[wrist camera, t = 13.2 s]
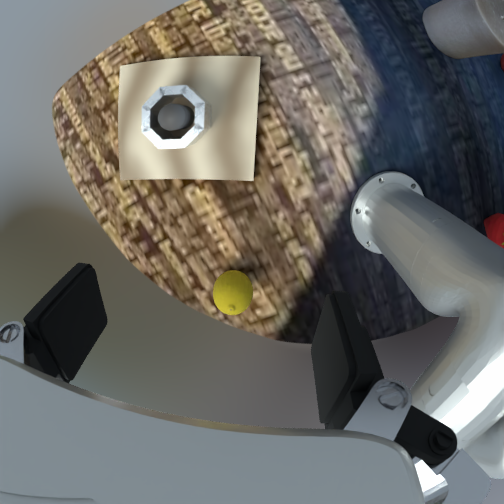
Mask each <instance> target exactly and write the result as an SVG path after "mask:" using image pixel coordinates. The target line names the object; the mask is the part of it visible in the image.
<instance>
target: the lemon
mask: <svg viewBox="0 0 504 504" xmlns="http://www.w3.org/2000/svg"><path fill="white" fill-rule="evenodd" d="M252 297H253V287H252V284H251V281H250V279H249V278H248V277H247V276H246V275H245V274H244V273H242V272H240V271H237V270H230V271H226V272H224V273H223V274H221V275H220V276H219V277H218V279H217V280H216V282H215V285H214V288H213V298H214V302H215V304H216V306H217V307H218V309H219V310H220V311H222V312H223V313H226V314H229V315H237V314H240V313H242V312H244V311H245V310H246V309H247V308H248V306H249V305H250V303H251V300H252Z"/></svg>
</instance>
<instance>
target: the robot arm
mask: <svg viewBox="0 0 504 504" xmlns="http://www.w3.org/2000/svg"><path fill="white" fill-rule="evenodd" d="M379 178H380V180H379ZM356 209H357V211H355V210H356ZM350 221H351V227H352V230H353V233H354V235H355V236H356V238H357V240H358V241H359V242H360V243H361V245H363V246H364V247H365V248H366V249H368V250H370V251H372V252H375V253H378V254H383V255H384V256H385V257H386V258H387V260H388V261H389V262H390V263H391V265H392V266H393V267H394V268H395V270H396V271H397V272H398V274H399V275H400V276H401V277H402V279H403V280H404V281H405V283H406V284H407V285H408V287H409V288H410V289H411V291H412V292H413V293H414V295H415V296H416V297H417V299H418V300H419V301H420V303H421V304H422V305H423V306H424V307H425V308H426V309H427V310H429V311H430V312H432V313H434V314H437V315H441V316H450V317H452V316H453V317H455V316H460V319H459V321H458V324H457V326H456V328H455V329H454V331H453V332H452V334H451V335H450V337H449V339H448V341H447V342H446V343H445V345H444V346H443V347H442V349H441V350H440V351H439V353H438V354H437V355H436V357H435V358H434V359H433V361H432V362H431V363H430V365H429V366H428V367H427V368H426V369H425V371H424V372H423V373H422V374H421V375H420V377H419V378H418V379H417V381H416V382H415V383H414V385H413V386H412V388H411V389H410V390H409V388H408V387H407V386H406V385H405V384H404V383H402V382H401V381H399V380H396V379H391V378H386V379H384V376H383V373H382V370H381V367H380V364H379V362H378V359H377V356H376V353H375V350H374V348H373V345H372V342H371V340H370V337H369V334H368V332H367V329H366V328H365V327H364V326H361V325H360V322H359V320H358V317H357V314H356V312H355V309H354V307H353V304H352V301H351V299H350V296H349V294H348V292H344V291H332V293H331V294H327V295H326V298H325V302H324V305H323V309H322V312H321V316H320V319H319V323H318V326H317V329H316V333H315V336H314V339H313V343H312V347H311V355H312V362H313V370H314V377H315V385H316V393H317V401H318V409H319V418H320V422H321V423H325V429H306V428H274V427H259V426H248V425H237V424H228V423H220V422H213V421H206V420H200V419H193V418H187V417H183V416H178V415H173V414H168V413H163V412H159V411H155V410H150V409H146V408H142V407H139V406H135V405H131V404H127V403H124V402H120V401H117V400H114V399H111V398H108V397H105V396H102V395H98V394H96V393H93V392H90V391H87V390H84V389H81V388H79V387H76V386H74V385H71V384H69V382H70V381H71V380H73V379H74V377H75V375H76V374H77V372H78V370H79V369H80V367H81V365H82V364H83V362H84V360H85V359H86V357H87V355H88V354H89V352H90V351H91V349H92V347H93V346H94V344H95V342H96V341H97V339H98V338H99V336H100V335H101V333H102V331H103V330H104V328H105V327H106V325H107V316H106V312H105V309H104V305H103V301H102V297H101V293H100V289H99V285H98V281H97V276H96V272H95V269H94V268H93V267H92V266H91V265H90V264H85V263H78V264H76V266H74V267H73V268H72V269H71V270H70V271H69V272H68V273H67V274H66V275H65V276H64V277H63V278H62V279H61V280H60V281H59V282H58V283H57V284H56V285H55V286H54V287H53V288H52V289H51V290H50V291H49V292H48V293H47V294H46V295H45V296H44V297H43V298H42V299H41V300H40V301H39V302H38V303H37V304H36V305H35V306H34V307H33V309H32V310H31V311H30V312H29V313H28V314H27V315H26V316H25V317H24V322H25V324H26V326H25V327H23V325H22V324H21V323H20V322H17V321H13V322H9V323H6V324H5V325H3V326H2V327H1V328H0V504H481V503H482V502H483V501H484V499H485V498H486V496H487V495H488V493H489V490H490V487H491V481H490V478H489V477H492V478H497V479H503V478H504V248H502V247H500V246H499V245H497V244H496V243H494V242H493V241H491V240H490V239H488V238H487V237H485V236H484V235H482V234H481V233H480V232H478V231H477V230H475V229H474V228H472V227H471V226H469V225H468V224H466V223H465V222H463V221H462V220H461V219H459V218H457V217H456V216H454V215H453V214H451V213H450V212H448V211H447V210H445V209H444V208H442V207H440V206H439V205H437V204H435V203H434V202H432V201H430V200H429V199H427V198H425V197H424V195H423V192H422V190H421V188H420V187H419V185H418V184H417V183H416V182H415V181H414V180H413V179H412V178H411V177H409V176H407V175H405V174H403V173H401V172H396V171H385V172H381V173H378V174H376V175H374V176H372V177H371V178H370V179H368V180H367V181H366V182H365V183H364V184H363V185H362V186H361V187H360V188H359V190H358V192H357V193H356V195H355V197H354V200H353V202H352V206H351V212H350Z"/></svg>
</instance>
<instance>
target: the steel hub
mask: <svg viewBox="0 0 504 504" xmlns="http://www.w3.org/2000/svg"><path fill="white" fill-rule="evenodd" d="M176 98H187V99H188V100H189V101H190V102H191V103H192V104H193V105H194V106H195V125H194V126H193V127H192V128H191V129H190V130H189V131H188V132H187V133H186V134H185V135H184V136H182V137H175V136H174V135H173V134H172V133H171V132H170V131H169V130H166V129H164V128H162V127H161V126H160V124H159V121H158V115H159V112H160V110H161V109H162V108H163V107H164V106H165V105H168V104H171V103H172V102H173V101H174V100H175V99H176ZM211 117H212V105H211V104H210V103H209V102H208V101H207V100H206V99H205V98H204V97H203V96H202V95H201V94H200V93H199V92H198V91H197V90H196V89H194V88H192V87H189V86H187V85H177V86H165V87H159V88H158V90H157V91H156V92H155V93H154V94H153V95H152V96H151V97H150V98H149V99H148V100H147V101H146V102H145V104H144V105H143V106H142V133H143V134H144V135H145V136H146V137H147V138H148V139H149V140H150V141H151V142H152V143H153V144H154V145H155V146H156V147H157V148H158V149H171V148H186V147H188V146H191V145H193V144H195V143H196V142H197V141H198V140H199V139H200V138H201V137H202V136H203V135H204V134H205V133H206V132H207V131H208V130H209V129H210V128H211Z"/></svg>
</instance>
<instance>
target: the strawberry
mask: <svg viewBox="0 0 504 504" xmlns="http://www.w3.org/2000/svg"><path fill="white" fill-rule="evenodd" d="M484 225H485V229H486V234H487V237H488V239H490V240H491V241H493V242H494V243H496V244H497V245H499V246H500V247H502V248H504V214H500V213H496V214H494V215H491V216H489V217H488V218H486V219H485V220H484Z"/></svg>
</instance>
